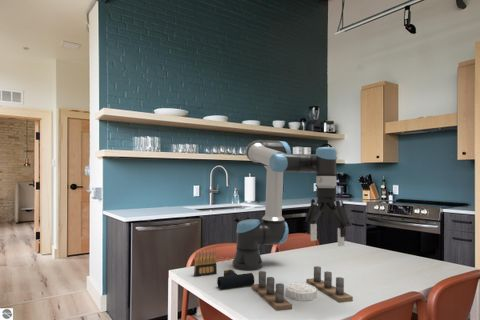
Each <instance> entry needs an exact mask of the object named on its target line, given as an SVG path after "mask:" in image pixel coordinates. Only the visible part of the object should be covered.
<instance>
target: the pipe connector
mask: <svg viewBox="0 0 480 320" xmlns="http://www.w3.org/2000/svg"><path fill="white" fill-rule="evenodd" d="M216 279H217V280H216V284H217V285H216V286H217V288H218V289H219V290H226V289H233V288H243V287H247V286H252V285H253V284H255V275H254V274H253V272H247V273H240V274H237V273H236V271H235V270H233V269H225V270H223V276H218V277H217V278H216Z"/></svg>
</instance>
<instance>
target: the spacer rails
mask: <svg viewBox="0 0 480 320" xmlns="http://www.w3.org/2000/svg"><path fill="white" fill-rule="evenodd" d="M323 278H324V279H322V267H321V266H318V265H316V266H313V277H312V278H306V279H305V280H306V281H305V282H306V283H305V284H309V285H312V286H314V287H315V288H316V289H317V291H320V292H321V293H323V294H325V295H327V296H328V297H330V298H331V299H333V300H334V301H336V302H338V303H345V302H346V303H347V302H353V300H354V298H353V295H351V294H348V293H347V292H345V278H344V277H339V276H337V277H335V286H334V285H333V273H332V271H324V273H323ZM251 289H252V290H253V291H254V292H256V294H258V295H259V296H260V297H261V298H262V299H263V300H264V301H265V302H266V303H268V304H269V306H271V307H272V308H273V309H274V310H275V311H277V312H278V311H285V310H292V309H293V304H292V303H291V302H289V300H287V299H286V298H285V297H284V295H285V285H284V283H281V282H280V283H279V282H278V283H276V284H275V277H273V276H268V277H267V272H266V271H264V270H261V271H260V270H259V271H258V283H256V284H255V283H254V284H253V285H251Z"/></svg>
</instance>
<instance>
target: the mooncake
mask: <svg viewBox="0 0 480 320" xmlns="http://www.w3.org/2000/svg"><path fill="white" fill-rule="evenodd" d="M317 291H318V289H316V288H315V287H314V286H312V285H310V284H308V283H305V282H294V283H293V282H292V283H290V284H288V285H287V286H286V287H285V295H286V297H288V298H289V299H292V300H296V301H301V302H304V301H306V302H307V301H313V300H316V298H317V293H318V292H317Z"/></svg>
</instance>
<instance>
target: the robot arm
mask: <svg viewBox="0 0 480 320" xmlns="http://www.w3.org/2000/svg"><path fill="white" fill-rule="evenodd" d="M245 154H246V157H247V159H248V160H249V161H251V162H253V163H256V164H257V163H261V164H263V167H264V169H266V177H265V178H266V180H265V181H266V185H265V189H266V190H265V213H264V215H263V217H262V218H261V221H260V220H259V219H257V218H255V219H254V218H253V219H251V218H250V219H244V220H243V219H242V220H241V221H239V222H238V223H237V226H236V248H235V249H236V251H235V254H234V257H233V260H232V267H233V268H234V269H236V270H241V271H257V270H261V269H262V268H263V260H262V257H261V254H260V246H268V245H275V246H276V245H282V244H284V243H285V242H286V241H287V239H288V236H289V226H288V223H287V221H285V218H284V217H283V215H282V214H283V213H282V211H283V189H284V188H283V187H284V184H283V183H284V182H283V181H284V173H306V174H313V173H315V176H316V177H315V179H316V184H315V185H316V187H317V188H316V189H315V190H316V195H315V196H316V197H317V198H315V199H314V198H313V199H311V202H310V206H309V209H308V211H307V215H306V217H305V222H306V223H308V224H309V232H310V241H311V242H313V241H314V242H315V241H318V239H317V238H318V237H317V236H318V231H317V229H318V226H317V220H318V219H319V218H320V216H321V215H322V213H323V212H325V213H330V214H331V215H332V217H333V219H334V220H335V223H336V224H337V225H338V227H337V247H344V246H345V238H346V236H347V235H346V234H347V233H346V229H347V227H351V222H350V220H349V218H348V215H347V212H346V210H345V207H344V201H343V200H336V198H337V188H336V187H337V151H336V148H335V147H332V146H331V147H330V146H321V147H317V148H316V150H315V154H314V153H313V154H308V153H307V154H306V153H305V154H304V153H292V150H291V147H290V145H289V143H288V142H286V141H284V140H283V141H281V140H266V139H265V140H264V139H258V140H253V141H251V142H250V143H249V144H248V145H247V147H246V149H245Z"/></svg>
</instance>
